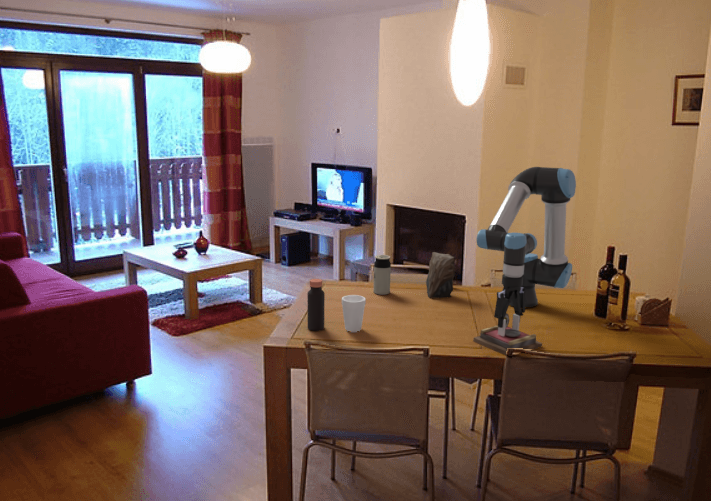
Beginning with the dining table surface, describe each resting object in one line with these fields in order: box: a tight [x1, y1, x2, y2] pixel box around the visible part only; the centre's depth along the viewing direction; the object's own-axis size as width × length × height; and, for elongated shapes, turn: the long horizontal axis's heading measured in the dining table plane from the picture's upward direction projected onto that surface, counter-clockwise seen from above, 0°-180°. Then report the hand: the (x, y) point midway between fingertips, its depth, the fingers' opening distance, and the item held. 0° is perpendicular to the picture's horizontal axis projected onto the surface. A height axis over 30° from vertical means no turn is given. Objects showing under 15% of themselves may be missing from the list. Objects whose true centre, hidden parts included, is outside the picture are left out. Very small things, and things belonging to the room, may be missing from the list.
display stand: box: [472, 324, 543, 356], centre depth 226 cm, size 18×18×5 cm
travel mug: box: [372, 254, 392, 296], centre depth 287 cm, size 8×8×18 cm
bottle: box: [306, 278, 326, 332], centre depth 237 cm, size 7×7×20 cm
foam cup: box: [341, 294, 367, 333], centre depth 238 cm, size 10×9×13 cm
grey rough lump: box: [425, 251, 456, 300], centre depth 285 cm, size 13×13×20 cm
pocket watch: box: [504, 312, 520, 337], centre depth 225 cm, size 8×8×10 cm
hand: (508, 333), depth 226 cm, fingers closed on pocket watch, 7 cm apart
